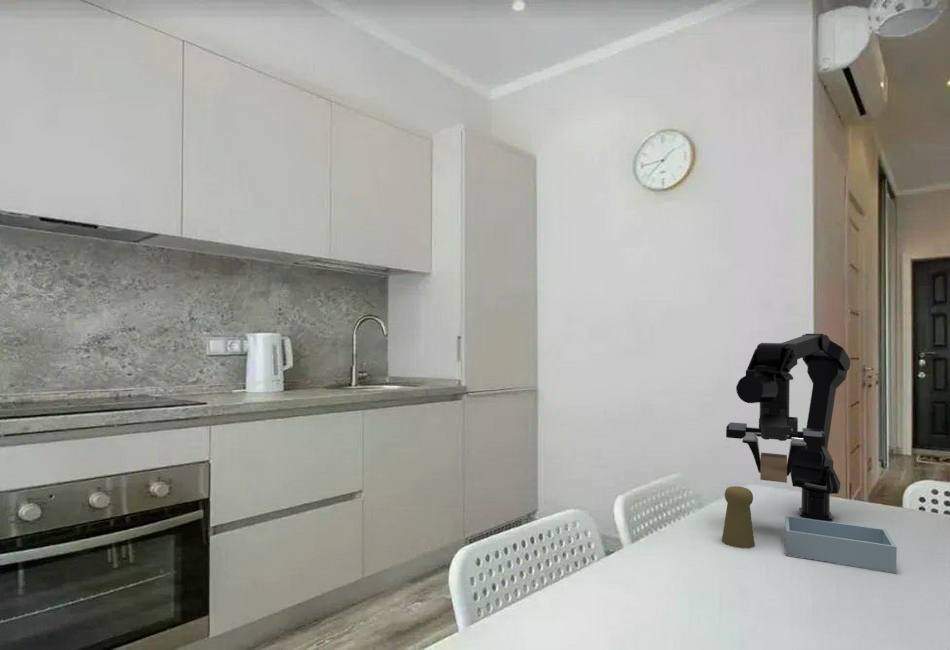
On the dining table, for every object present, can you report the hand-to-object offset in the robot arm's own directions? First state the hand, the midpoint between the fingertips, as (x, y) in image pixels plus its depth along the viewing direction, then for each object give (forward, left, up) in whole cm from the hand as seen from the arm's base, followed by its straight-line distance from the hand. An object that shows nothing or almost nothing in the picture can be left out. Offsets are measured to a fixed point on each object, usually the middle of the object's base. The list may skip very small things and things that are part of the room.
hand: (773, 473), depth 127 cm
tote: (+10, +11, -12) cm, 19 cm away
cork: (+13, -6, -12) cm, 19 cm away
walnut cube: (0, 0, -1) cm, 1 cm away
